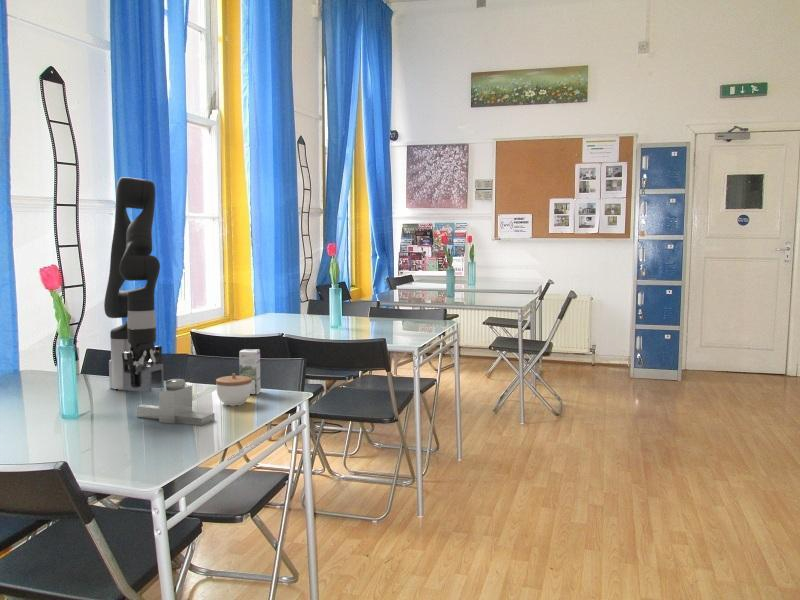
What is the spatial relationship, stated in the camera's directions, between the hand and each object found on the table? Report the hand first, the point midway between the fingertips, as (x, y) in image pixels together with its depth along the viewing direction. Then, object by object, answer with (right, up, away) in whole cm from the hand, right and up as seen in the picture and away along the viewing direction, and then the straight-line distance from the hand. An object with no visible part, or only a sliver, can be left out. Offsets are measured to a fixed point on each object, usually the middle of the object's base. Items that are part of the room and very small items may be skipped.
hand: (143, 384), depth 192 cm
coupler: (+9, -9, -3) cm, 13 cm away
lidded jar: (+22, -8, +16) cm, 28 cm away
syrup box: (+24, -7, +30) cm, 39 cm away
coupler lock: (0, -1, 0) cm, 1 cm away
